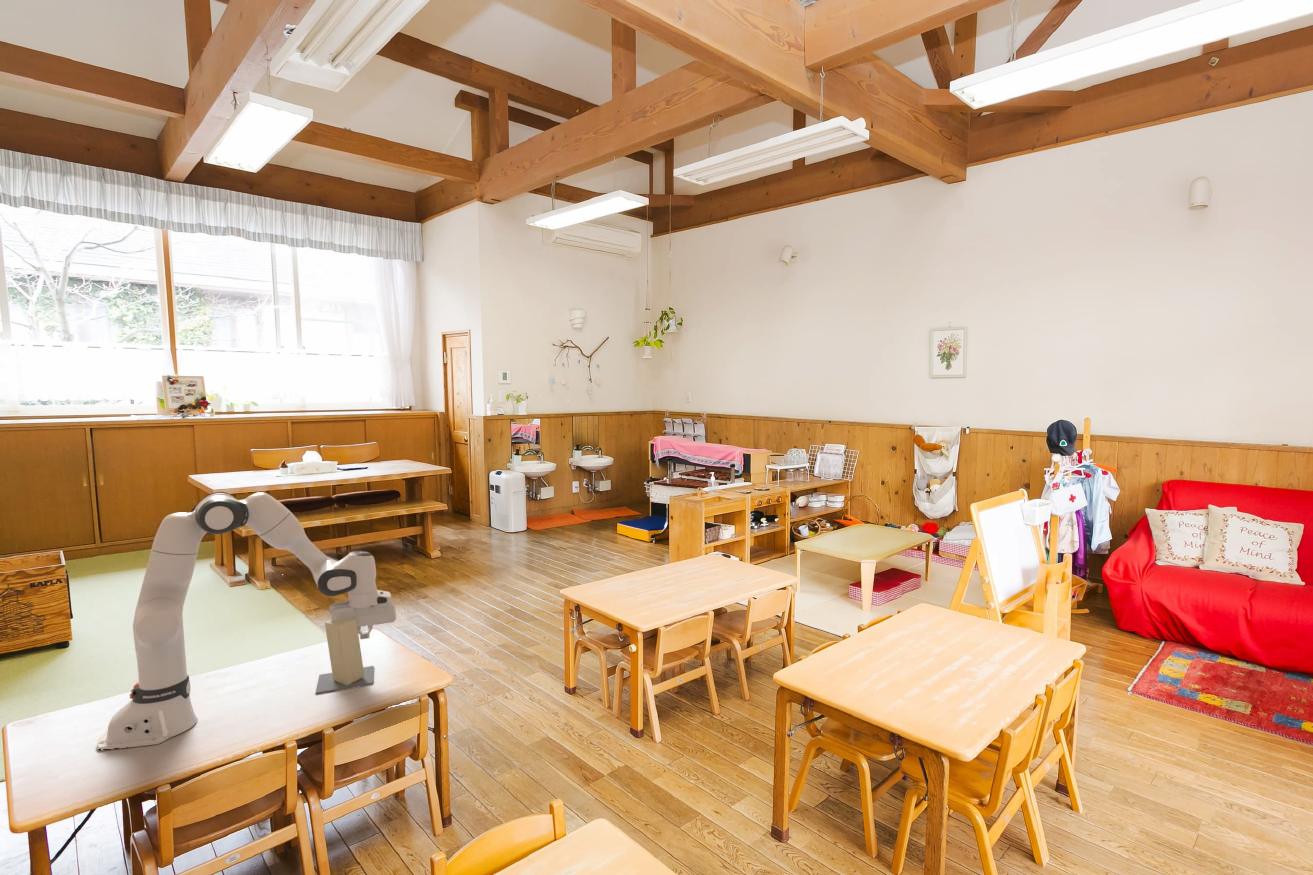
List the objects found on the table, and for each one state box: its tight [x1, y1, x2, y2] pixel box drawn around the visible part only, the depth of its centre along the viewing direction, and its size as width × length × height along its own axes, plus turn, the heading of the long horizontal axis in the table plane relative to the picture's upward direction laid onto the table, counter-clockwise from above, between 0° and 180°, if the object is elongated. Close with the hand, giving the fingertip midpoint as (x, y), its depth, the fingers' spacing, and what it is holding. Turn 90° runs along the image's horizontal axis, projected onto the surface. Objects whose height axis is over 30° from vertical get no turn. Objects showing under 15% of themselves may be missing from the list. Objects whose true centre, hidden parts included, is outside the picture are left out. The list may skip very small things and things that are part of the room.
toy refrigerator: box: [324, 618, 364, 686], centre depth 212 cm, size 8×7×21 cm
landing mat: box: [314, 665, 375, 695], centre depth 215 cm, size 17×14×1 cm
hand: (364, 638), depth 215 cm, fingers closed
